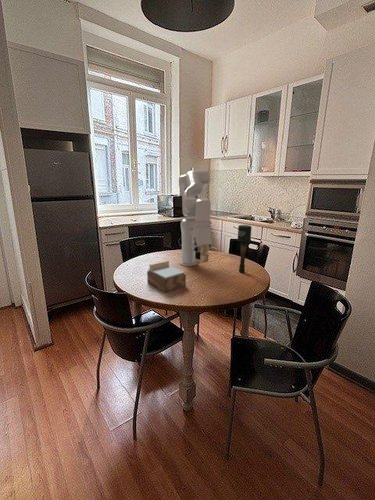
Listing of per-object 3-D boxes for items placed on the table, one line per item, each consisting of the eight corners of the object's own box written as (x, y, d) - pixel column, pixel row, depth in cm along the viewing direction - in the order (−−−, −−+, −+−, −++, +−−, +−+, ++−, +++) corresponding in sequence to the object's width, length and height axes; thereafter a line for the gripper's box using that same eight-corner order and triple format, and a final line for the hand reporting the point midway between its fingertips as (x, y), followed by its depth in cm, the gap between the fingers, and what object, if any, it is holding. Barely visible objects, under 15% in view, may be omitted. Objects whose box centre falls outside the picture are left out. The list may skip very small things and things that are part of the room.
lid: (166, 266, 149) (166, 259, 148) (184, 273, 137) (184, 266, 136) (148, 270, 141) (148, 263, 140) (165, 279, 129) (165, 272, 128)
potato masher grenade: (233, 270, 165) (236, 224, 157) (246, 269, 166) (249, 224, 158) (236, 274, 157) (240, 227, 149) (250, 274, 158) (254, 227, 150)
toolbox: (167, 277, 152) (167, 266, 150) (185, 286, 139) (185, 274, 138) (147, 282, 143) (147, 271, 141) (164, 292, 131) (164, 280, 129)
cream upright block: (201, 259, 137) (202, 241, 134) (208, 261, 133) (208, 243, 131) (195, 260, 134) (195, 243, 131) (201, 263, 130) (201, 245, 128)
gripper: (209, 221, 136) (208, 253, 141) (185, 224, 126) (184, 259, 131) (219, 223, 131) (217, 256, 136) (194, 226, 120) (194, 262, 125)
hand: (201, 257), depth 133 cm, fingers closed on cream upright block, 5 cm apart
